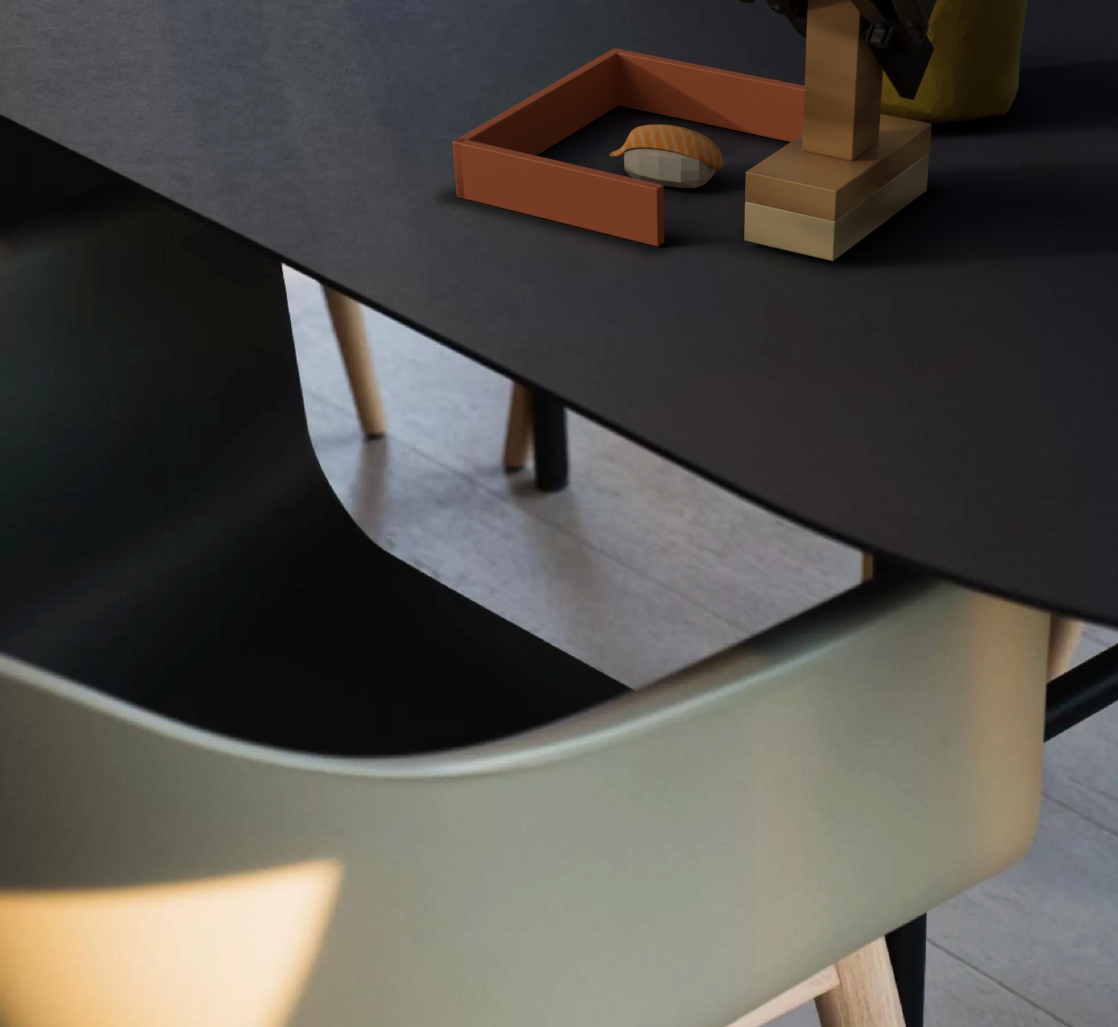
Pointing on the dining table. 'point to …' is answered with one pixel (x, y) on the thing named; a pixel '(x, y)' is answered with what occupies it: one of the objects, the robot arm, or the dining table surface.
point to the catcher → (588, 93)
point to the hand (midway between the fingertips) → (885, 66)
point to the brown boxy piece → (837, 149)
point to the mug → (965, 63)
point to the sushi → (670, 156)
